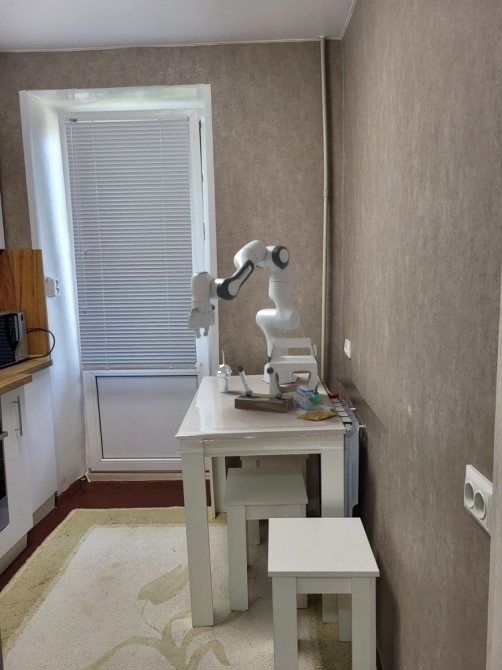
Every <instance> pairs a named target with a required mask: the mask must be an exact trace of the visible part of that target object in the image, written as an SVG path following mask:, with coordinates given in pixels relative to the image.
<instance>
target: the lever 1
mask: <svg viewBox="0 0 502 670" xmlns="http://www.w3.org/2000/svg"><path fill="white" fill-rule="evenodd" d="M244 370H245V367H244V366H243V365H237V367H236V371H237V373H238V374H239V375H240V378H241V382H242V384H243V387H244V388H243V389H244V390H245V392H244V393H245V394H246V396H248V397H249V396H251V395H252V394H253V393H254V392H253V390H251V388H250V385H249V382H248V380H247V376H246V374H245V371H244Z"/></svg>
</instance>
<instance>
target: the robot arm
mask: <svg viewBox="0 0 502 670" xmlns="http://www.w3.org/2000/svg"><path fill="white" fill-rule="evenodd" d="M289 263H290V252H289V250H288V248H287V247H286V246H284V245H268V246H266V244H265V243H264V242H263V241H261V240H260V239H258V240H257V239H254V240H252V241H250V242H248V243H247V244H245V245H244V246H243V247H242V248H241V249H239V251H237V253H236V254H235V255H234V257H233V265H234V266H235V267H234V268H236V271H235V272H234V273H233V274H232V276H229V277H226V278H217V277H214V276H213V275H211V274H209V272H208V271H204V270H203V271H198V272H194V273H193V274H192V275H191V278H190V293H191V299H190V300H191V301H190V302H191V303H190V304H191V310H190V311H189V313H188V317H187V328H188V329H189V331H190V330H193V331H194V333H195V338H196V339H201V338H202V334H203V337H208V336H209V330H210V327H212V326H214V325H215V324H216V323H215V322H216V312H215V310H216V305H215V304H213V303H212V301H211V300H224V301H229V302H230V301H233V300H234V299H236V297H237V296H238V294H239V292H240V289H241V288H242V286H243V285H244V284H245V283H246V281H247V280H248V279H249V277H250V276H251V275H252V274H253V272H254V270H255V267H256V268H258V269H269V272H270V274H269V275H270V276H269V283H268V298H269V299H270V300H271V301H273V303H274V305H275V308H264V309H260V310H259V311H258V312H257V313H256V315H255V322H256V325H257V326H258V327H259V328H260V329H261V330H262V332H263V334H264V336H265V339H266V345H267V346H266V347H267V355H266V362H267V363H266V364H265V365H264V373H263V374H264V375H263V376H264V377H262V378H261V381H263V382H265V383H268V384H269V374H268V373H267V368H268V367H269V362H270V358H271V357H272V356H269V351H270V345H272V346H274V344H275V339H276V338H286V337H285V336H284V335H283V333H282V332H281V331H291V330H296V329H297V328H298V327H299V326H300V323H301V317H300V314H299V312H298V311H297V310H296V309H295V307H294V306H293V304H292V301H291V269H290V265H289ZM201 329H204V331H203V333H202V334H201V332H200V331H201ZM276 356H291V354H289V348H277V349H276ZM294 372H295V371H290V370H279V371H277V373H278V376H279V385H286V384H290V383H291V382H294V383H296V382H297V380H298V376H299V375H298V374H295V373H294ZM296 379H297V380H296ZM291 384H292V383H291Z"/></svg>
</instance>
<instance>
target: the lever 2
mask: <svg viewBox="0 0 502 670" xmlns="http://www.w3.org/2000/svg"><path fill="white" fill-rule="evenodd" d="M273 372H274V369H273V368H272V367H268V368H267V373H268V374H269V376H270V379H271V381H272V384H273V387H274V390H275V392H276V398H277V399H280V398H281V397H282V396H283V394H282V393H281V392H280V389H279V387H278V384H277V381H276V378H275V375H274V373H273Z"/></svg>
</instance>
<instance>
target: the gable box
mask: <svg viewBox="0 0 502 670" xmlns="http://www.w3.org/2000/svg"><path fill="white" fill-rule="evenodd" d="M277 348H288V349H291V348H292V349H293V348H295V349H297V348H298V349H299V348H300V349H301V348H303V349H309V352H310V354H309V355H290V356H276V349H277ZM317 353H318V351H317V344H313V343H312V340H311V338H310V337H285V338H276V339H275V344H274V346H272V345H270V351H269V356H272V357H271V358H270V362H269V367H272V368H273V369H274V372H273V373H274V375H275V378H276V381H277V384H278V387H279V389H280V392H281V393H282V394H283V396H293V401H297V387H301V385H297V384H291V385H285V386H281V385H280V384H279V376H278V373H277V371H279V370H290V371H294V372H301V371H302V372H303V371H307V372H309V374H308V376H307V383H308V384H307V385H306V387H308V388H310V389H312V390H314V392H315V386H316V384H318V360H317V356H318V354H317ZM268 384H269V386H268V387H269V394H270V395H276V392H275V390H274V387H273V384H272V381H271V379H270V376H269V383H268Z"/></svg>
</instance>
